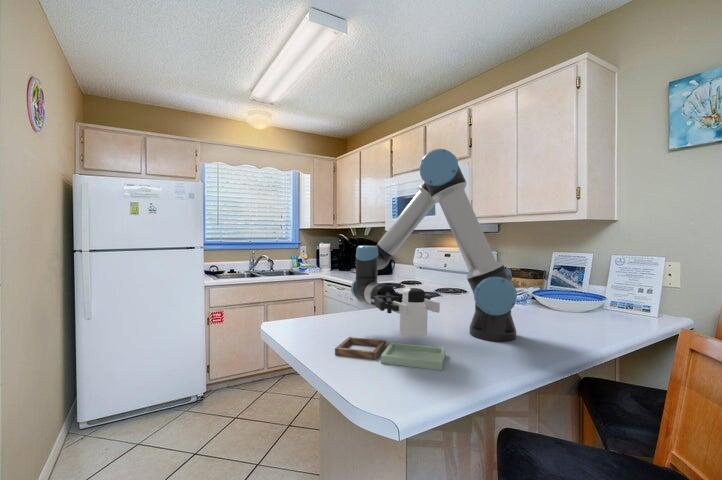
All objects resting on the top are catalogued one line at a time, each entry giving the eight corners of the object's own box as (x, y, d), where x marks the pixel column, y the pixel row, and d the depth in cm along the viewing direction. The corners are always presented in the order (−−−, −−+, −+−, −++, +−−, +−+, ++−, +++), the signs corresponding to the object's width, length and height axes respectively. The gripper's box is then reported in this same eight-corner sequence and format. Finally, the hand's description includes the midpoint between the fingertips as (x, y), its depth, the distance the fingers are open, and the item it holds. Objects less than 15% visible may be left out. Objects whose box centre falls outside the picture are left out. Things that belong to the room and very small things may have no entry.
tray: (445, 354, 99) (445, 348, 99) (442, 370, 88) (442, 362, 88) (390, 349, 104) (390, 342, 104) (380, 362, 93) (380, 355, 93)
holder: (385, 346, 107) (385, 340, 107) (375, 359, 95) (375, 352, 95) (349, 342, 110) (349, 336, 110) (334, 354, 99) (335, 348, 99)
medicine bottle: (424, 329, 99) (425, 287, 99) (427, 336, 92) (428, 291, 92) (399, 327, 100) (400, 286, 100) (400, 335, 93) (401, 290, 93)
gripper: (408, 304, 117) (455, 319, 97) (349, 309, 107) (387, 327, 87) (409, 282, 117) (455, 292, 97) (349, 285, 107) (387, 297, 87)
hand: (423, 309), depth 92 cm, fingers closed on medicine bottle, 10 cm apart
